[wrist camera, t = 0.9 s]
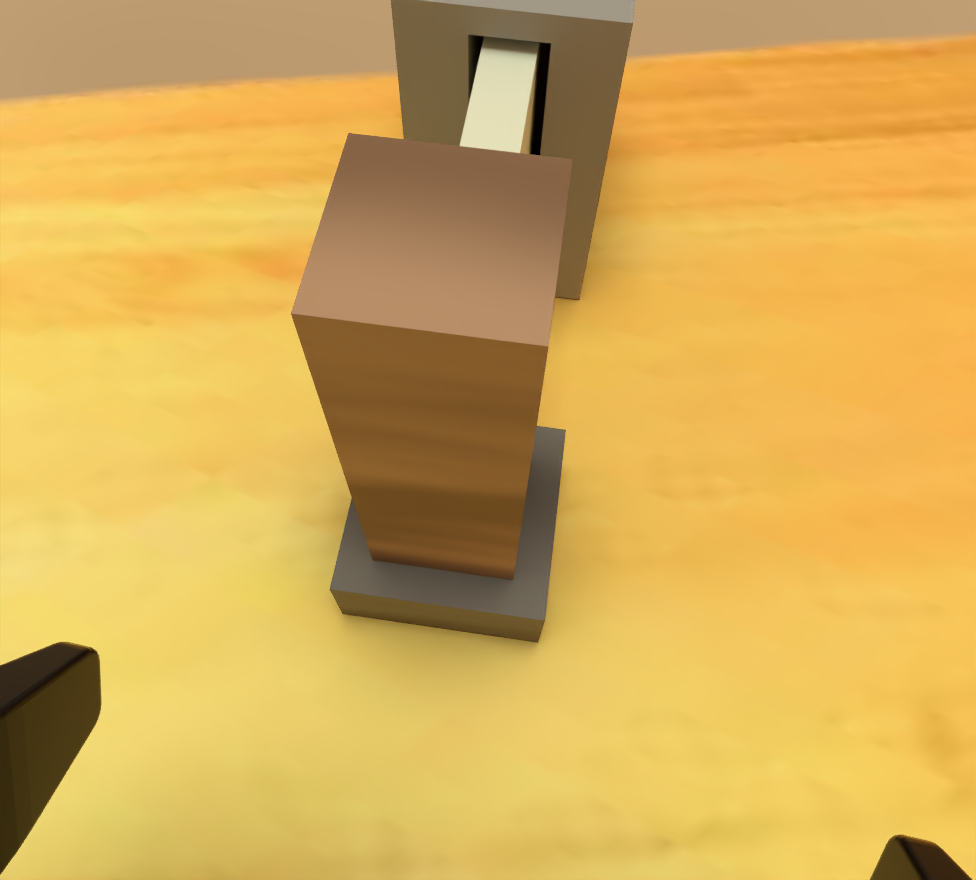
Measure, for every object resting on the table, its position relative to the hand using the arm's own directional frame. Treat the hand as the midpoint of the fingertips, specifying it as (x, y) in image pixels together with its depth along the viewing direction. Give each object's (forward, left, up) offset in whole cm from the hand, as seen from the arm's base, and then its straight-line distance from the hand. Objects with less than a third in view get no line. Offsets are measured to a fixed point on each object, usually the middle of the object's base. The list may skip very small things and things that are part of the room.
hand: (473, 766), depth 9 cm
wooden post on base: (+5, +7, -15) cm, 17 cm away
